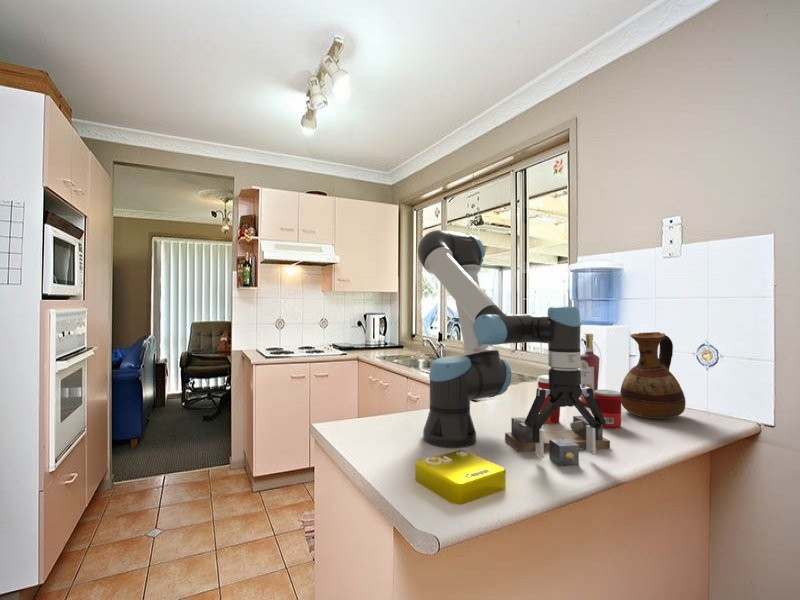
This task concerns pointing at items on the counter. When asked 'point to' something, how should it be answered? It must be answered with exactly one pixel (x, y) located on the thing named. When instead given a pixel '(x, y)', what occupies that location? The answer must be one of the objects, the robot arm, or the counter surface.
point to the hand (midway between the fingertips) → (565, 454)
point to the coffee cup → (544, 384)
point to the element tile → (460, 476)
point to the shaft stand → (552, 435)
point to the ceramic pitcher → (652, 380)
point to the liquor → (589, 368)
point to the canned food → (609, 407)
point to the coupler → (564, 452)
